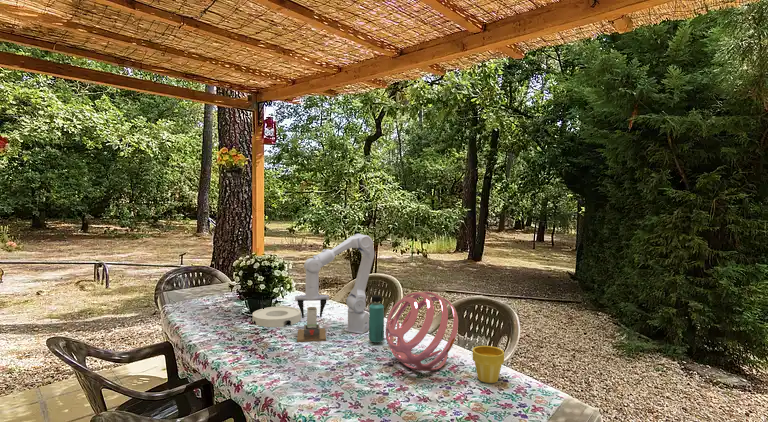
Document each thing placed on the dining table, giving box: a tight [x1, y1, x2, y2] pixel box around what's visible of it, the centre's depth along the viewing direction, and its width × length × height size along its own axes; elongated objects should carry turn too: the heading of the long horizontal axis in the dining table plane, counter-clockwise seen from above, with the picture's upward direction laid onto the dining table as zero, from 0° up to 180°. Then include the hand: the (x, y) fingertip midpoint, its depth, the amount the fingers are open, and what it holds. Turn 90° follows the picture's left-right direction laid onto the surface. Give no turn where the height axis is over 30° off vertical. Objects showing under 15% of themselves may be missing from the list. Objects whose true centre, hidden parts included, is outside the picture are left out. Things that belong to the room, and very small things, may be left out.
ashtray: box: [251, 306, 302, 328], centre depth 206 cm, size 23×23×4 cm
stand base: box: [296, 323, 327, 343], centre depth 183 cm, size 14×12×4 cm
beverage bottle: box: [368, 294, 385, 343], centre depth 175 cm, size 6×7×20 cm
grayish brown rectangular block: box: [306, 306, 318, 328], centre depth 182 cm, size 4×4×8 cm
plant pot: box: [472, 345, 505, 384], centre depth 141 cm, size 10×10×10 cm
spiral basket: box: [385, 291, 459, 372], centre depth 152 cm, size 28×28×27 cm
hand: (311, 317), depth 182 cm, fingers open, 7 cm apart
